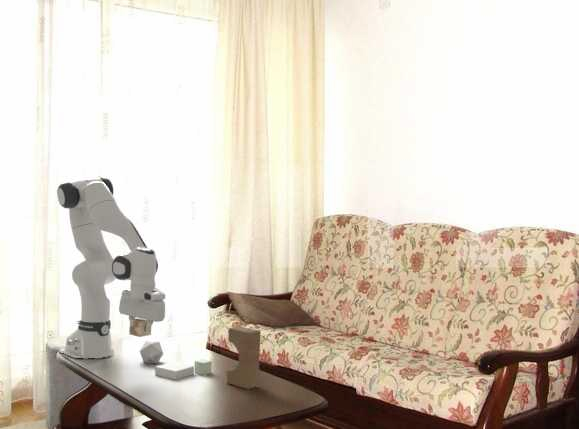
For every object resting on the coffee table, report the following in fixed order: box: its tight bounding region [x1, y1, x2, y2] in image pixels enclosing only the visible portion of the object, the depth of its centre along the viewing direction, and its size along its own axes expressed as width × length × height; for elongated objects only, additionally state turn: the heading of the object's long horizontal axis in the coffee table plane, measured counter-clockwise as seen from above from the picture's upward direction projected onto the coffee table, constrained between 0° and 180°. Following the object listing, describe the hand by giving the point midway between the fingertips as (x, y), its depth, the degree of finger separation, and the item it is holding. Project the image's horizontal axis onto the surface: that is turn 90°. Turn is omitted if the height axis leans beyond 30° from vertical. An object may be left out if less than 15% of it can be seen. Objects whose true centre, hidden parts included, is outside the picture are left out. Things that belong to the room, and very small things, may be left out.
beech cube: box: [128, 317, 152, 338], centre depth 266 cm, size 6×6×6 cm
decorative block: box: [226, 326, 261, 390], centre depth 259 cm, size 11×6×20 cm, turn 48°
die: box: [139, 340, 164, 365], centre depth 286 cm, size 8×9×10 cm
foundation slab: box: [154, 361, 195, 380], centre depth 270 cm, size 10×10×3 cm
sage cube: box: [194, 358, 213, 376], centre depth 274 cm, size 4×4×4 cm
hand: (140, 329), depth 266 cm, fingers closed on beech cube, 5 cm apart
